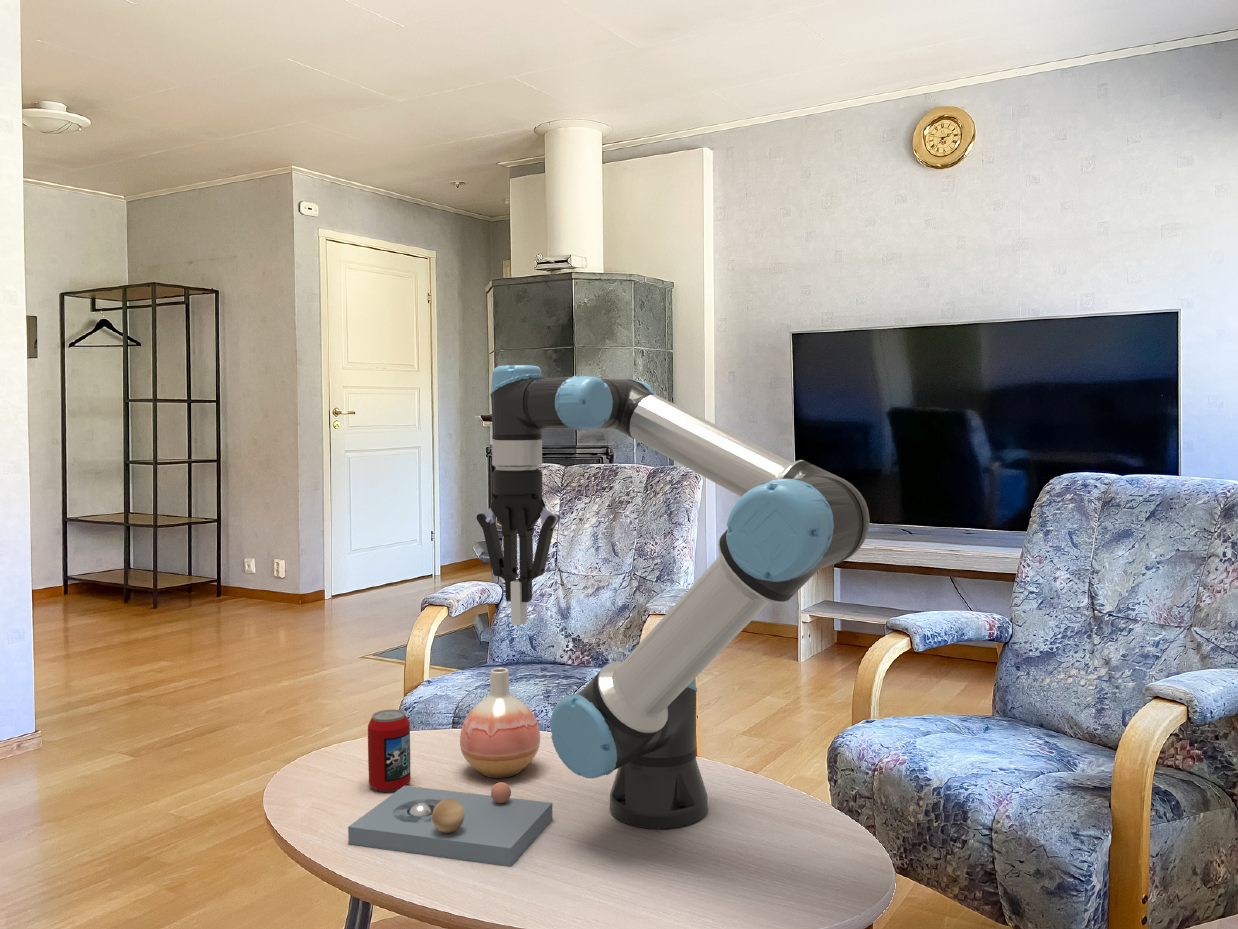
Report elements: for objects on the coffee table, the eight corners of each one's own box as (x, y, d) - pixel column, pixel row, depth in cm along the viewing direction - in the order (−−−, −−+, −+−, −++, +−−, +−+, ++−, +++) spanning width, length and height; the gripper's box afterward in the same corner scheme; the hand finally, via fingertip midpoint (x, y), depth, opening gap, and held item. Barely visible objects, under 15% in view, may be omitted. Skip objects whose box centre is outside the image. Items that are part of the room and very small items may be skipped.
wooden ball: (469, 827, 137) (469, 795, 137) (455, 840, 133) (455, 808, 133) (441, 823, 138) (440, 792, 138) (426, 836, 134) (425, 804, 134)
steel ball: (438, 804, 144) (418, 796, 145) (427, 813, 141) (406, 805, 142) (433, 826, 144) (413, 817, 145) (422, 835, 141) (401, 826, 142)
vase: (498, 752, 175) (497, 656, 174) (556, 768, 167) (555, 667, 166) (443, 775, 164) (441, 672, 163) (503, 793, 156) (501, 685, 155)
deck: (552, 819, 146) (552, 802, 145) (510, 866, 130) (510, 848, 130) (404, 801, 153) (404, 785, 153) (348, 844, 137) (348, 826, 137)
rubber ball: (514, 799, 147) (514, 780, 147) (506, 807, 144) (506, 787, 144) (496, 797, 148) (495, 778, 147) (487, 805, 145) (487, 785, 145)
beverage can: (400, 795, 155) (399, 721, 155) (361, 792, 156) (360, 719, 156) (417, 780, 162) (416, 709, 161) (379, 777, 163) (378, 707, 162)
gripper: (566, 467, 147) (567, 620, 148) (488, 466, 151) (489, 615, 152) (548, 470, 140) (550, 630, 141) (467, 469, 144) (469, 625, 145)
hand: (519, 622), depth 147 cm, fingers closed
